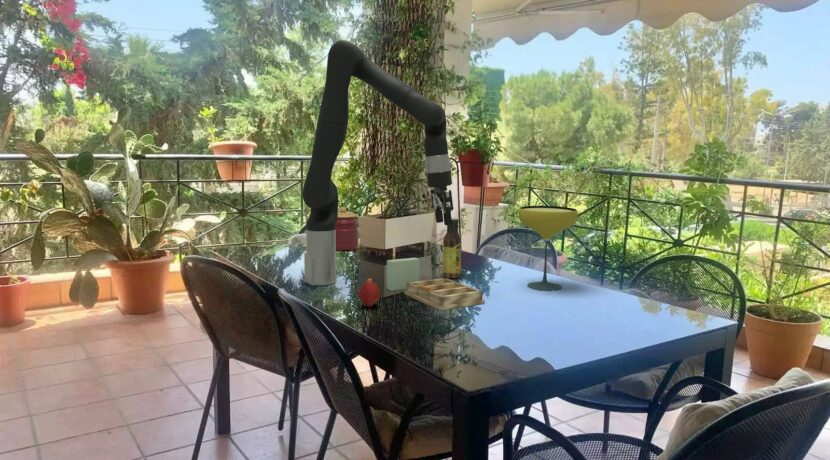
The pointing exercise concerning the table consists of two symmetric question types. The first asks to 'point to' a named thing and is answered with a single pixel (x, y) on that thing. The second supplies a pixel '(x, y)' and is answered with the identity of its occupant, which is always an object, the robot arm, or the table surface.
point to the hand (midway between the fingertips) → (443, 223)
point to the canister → (346, 230)
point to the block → (402, 273)
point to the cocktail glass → (547, 231)
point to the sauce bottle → (452, 251)
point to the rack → (444, 294)
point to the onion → (369, 293)
